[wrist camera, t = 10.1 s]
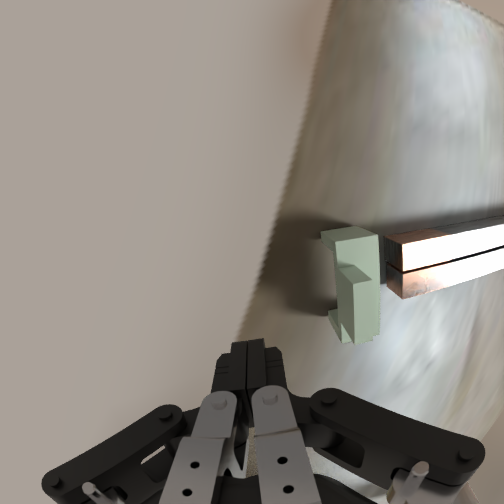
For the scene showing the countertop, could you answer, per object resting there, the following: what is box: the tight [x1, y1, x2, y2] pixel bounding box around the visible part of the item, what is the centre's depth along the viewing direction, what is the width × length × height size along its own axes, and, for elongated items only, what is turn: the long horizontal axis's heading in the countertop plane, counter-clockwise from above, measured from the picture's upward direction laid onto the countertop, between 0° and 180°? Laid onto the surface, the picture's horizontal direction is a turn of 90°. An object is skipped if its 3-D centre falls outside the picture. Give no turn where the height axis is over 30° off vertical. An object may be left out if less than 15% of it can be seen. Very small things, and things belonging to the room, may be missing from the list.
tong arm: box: [386, 245, 504, 299], centre depth 20 cm, size 21×2×4 cm, turn 99°
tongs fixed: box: [383, 215, 504, 271], centre depth 20 cm, size 5×24×3 cm, turn 100°
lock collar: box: [320, 226, 380, 345], centre depth 18 cm, size 8×3×7 cm, turn 10°
